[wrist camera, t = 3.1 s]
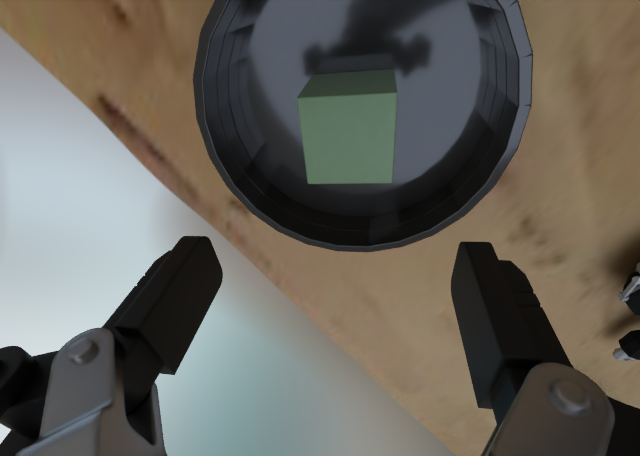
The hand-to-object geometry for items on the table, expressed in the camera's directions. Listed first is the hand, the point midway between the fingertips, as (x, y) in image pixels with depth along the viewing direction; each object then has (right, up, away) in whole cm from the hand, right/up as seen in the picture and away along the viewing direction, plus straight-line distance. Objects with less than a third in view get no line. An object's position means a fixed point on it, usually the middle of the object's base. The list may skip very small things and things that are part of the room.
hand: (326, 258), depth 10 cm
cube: (+2, +9, +10) cm, 14 cm away
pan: (+2, +9, +11) cm, 14 cm away
